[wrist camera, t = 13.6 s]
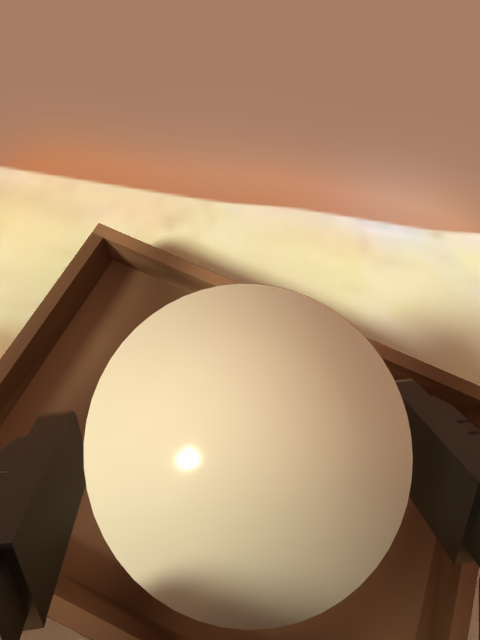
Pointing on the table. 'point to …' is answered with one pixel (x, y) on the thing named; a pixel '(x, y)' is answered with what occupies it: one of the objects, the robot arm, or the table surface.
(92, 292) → the serving tray
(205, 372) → the dome-topped cylinder
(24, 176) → the table surface
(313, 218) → the table surface
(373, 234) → the table surface
